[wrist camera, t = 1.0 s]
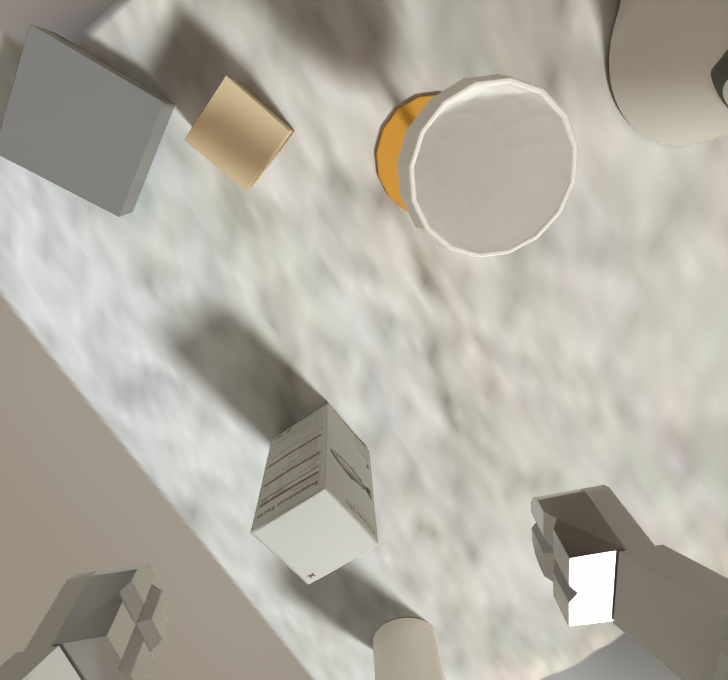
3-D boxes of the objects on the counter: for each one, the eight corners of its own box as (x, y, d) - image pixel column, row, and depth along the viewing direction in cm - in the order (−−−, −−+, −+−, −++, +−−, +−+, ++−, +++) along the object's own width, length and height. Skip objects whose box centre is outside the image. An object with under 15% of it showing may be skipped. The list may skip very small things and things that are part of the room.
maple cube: (240, 83, 35) (226, 75, 31) (294, 130, 37) (288, 130, 32) (202, 139, 37) (183, 140, 32) (256, 183, 38) (246, 189, 34)
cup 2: (444, 65, 35) (521, 18, 21) (510, 164, 39) (618, 184, 24) (352, 150, 37) (362, 162, 23) (421, 238, 41) (470, 298, 26)
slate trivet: (54, 32, 34) (29, 23, 31) (176, 104, 36) (163, 102, 33) (19, 150, 37) (-6, 152, 34) (134, 210, 39) (119, 216, 36)
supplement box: (371, 449, 49) (382, 547, 37) (313, 484, 50) (306, 589, 39) (328, 399, 46) (326, 488, 35) (268, 437, 48) (247, 535, 36)
